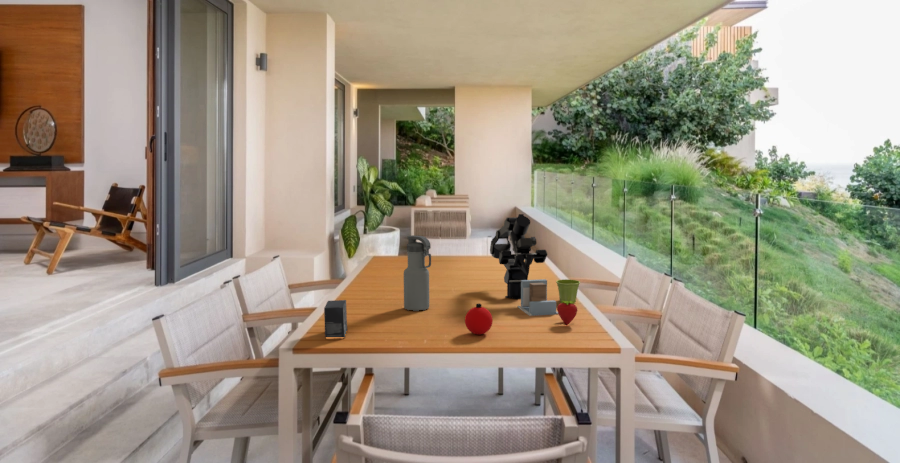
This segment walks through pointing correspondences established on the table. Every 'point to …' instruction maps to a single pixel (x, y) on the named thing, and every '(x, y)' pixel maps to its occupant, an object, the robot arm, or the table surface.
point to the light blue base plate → (526, 310)
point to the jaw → (526, 290)
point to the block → (537, 292)
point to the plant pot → (568, 289)
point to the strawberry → (567, 311)
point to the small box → (335, 318)
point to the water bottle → (417, 274)
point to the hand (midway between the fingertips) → (527, 274)
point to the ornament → (478, 320)
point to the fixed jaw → (542, 307)
